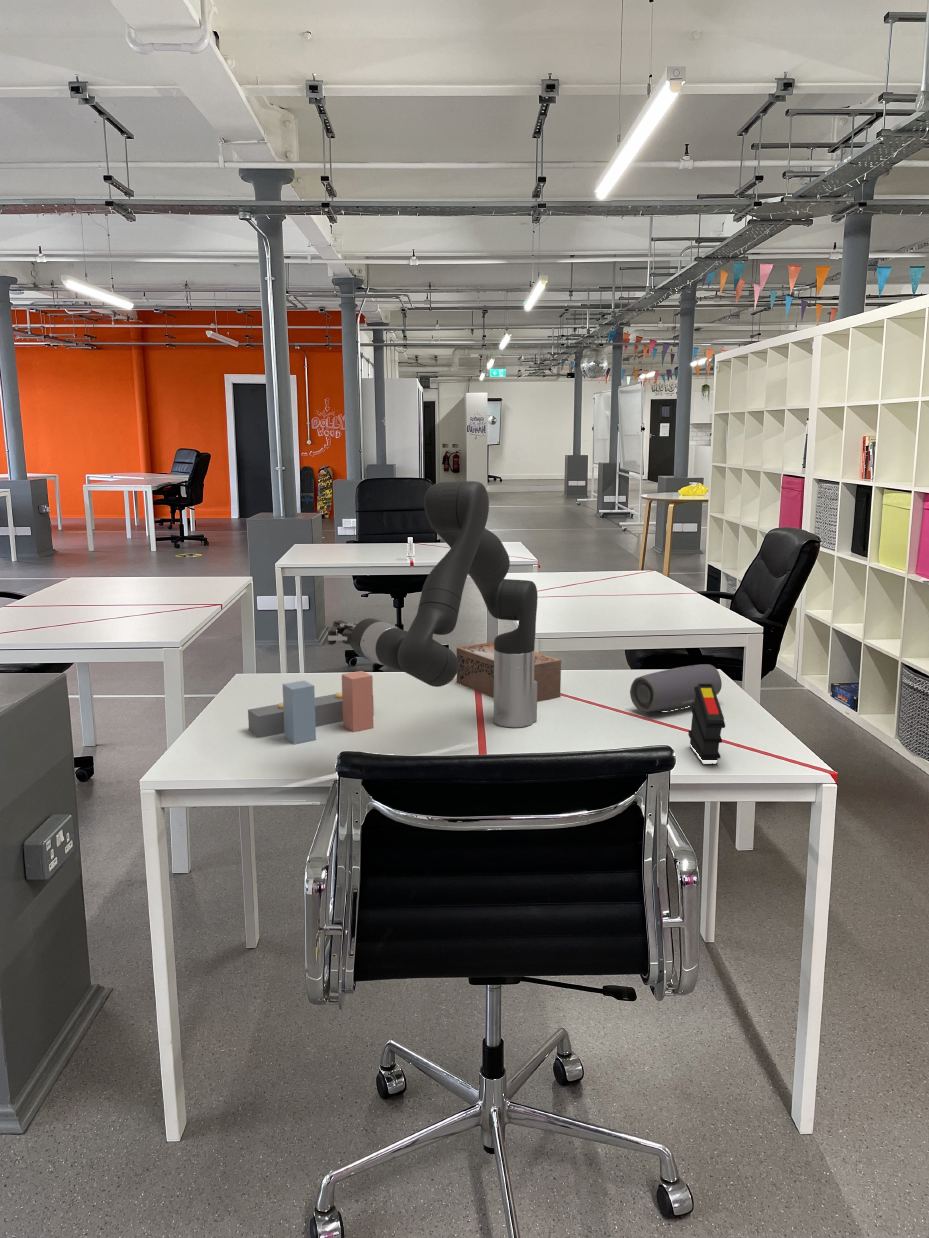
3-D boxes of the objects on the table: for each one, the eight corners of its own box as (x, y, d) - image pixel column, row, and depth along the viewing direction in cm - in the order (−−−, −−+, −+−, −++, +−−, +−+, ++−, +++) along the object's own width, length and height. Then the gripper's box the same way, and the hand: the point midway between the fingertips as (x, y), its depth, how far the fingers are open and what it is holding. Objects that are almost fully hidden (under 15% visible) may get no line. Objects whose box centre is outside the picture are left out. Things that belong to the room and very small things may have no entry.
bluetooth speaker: (693, 696, 227) (695, 658, 225) (722, 705, 219) (724, 666, 217) (627, 711, 215) (628, 670, 213) (654, 721, 207) (656, 679, 205)
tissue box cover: (456, 683, 239) (456, 647, 237) (499, 675, 247) (500, 640, 245) (514, 707, 218) (515, 668, 216) (560, 698, 226) (561, 660, 224)
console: (360, 713, 213) (359, 685, 211) (401, 734, 197) (400, 705, 196) (248, 734, 197) (246, 705, 196) (283, 760, 182) (281, 728, 180)
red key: (362, 721, 202) (361, 670, 200) (373, 727, 198) (372, 675, 196) (343, 725, 199) (341, 674, 197) (353, 731, 195) (352, 679, 193)
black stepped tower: (702, 734, 193) (713, 682, 183) (715, 780, 182) (728, 727, 173) (684, 734, 193) (695, 682, 183) (697, 780, 182) (709, 727, 173)
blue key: (306, 733, 194) (304, 680, 192) (316, 739, 190) (314, 685, 188) (284, 737, 192) (282, 684, 189) (294, 744, 188) (292, 689, 185)
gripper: (410, 617, 166) (365, 603, 180) (347, 626, 158) (305, 610, 172) (411, 657, 167) (366, 639, 181) (348, 667, 160) (306, 648, 174)
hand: (336, 625), depth 177 cm, fingers closed
